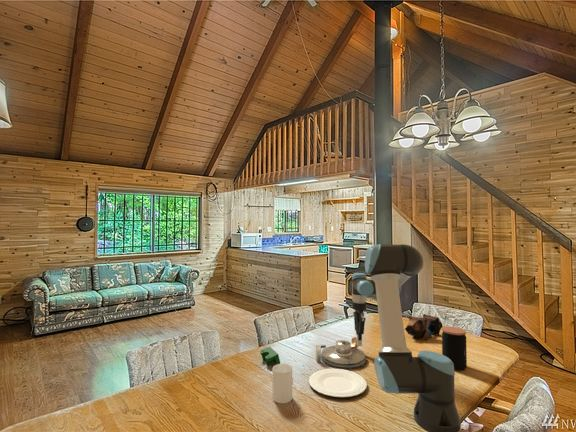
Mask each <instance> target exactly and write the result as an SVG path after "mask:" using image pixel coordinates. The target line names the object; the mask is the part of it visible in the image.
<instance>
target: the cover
mask: <svg viewBox="0 0 576 432" xmlns="http://www.w3.org/2000/svg"><path fill="white" fill-rule="evenodd" d="M335 346H336V349H334V354H335V355H336V356H339V357H349V356H352V350H350V346H351V342H350V341H348V340H345V339H344V340H343V339H340V340H336V341H335Z"/></svg>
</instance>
